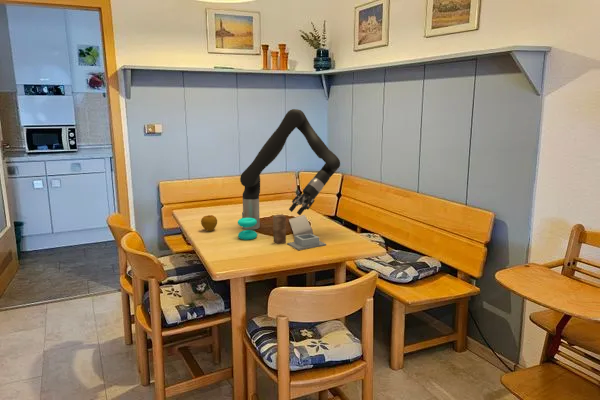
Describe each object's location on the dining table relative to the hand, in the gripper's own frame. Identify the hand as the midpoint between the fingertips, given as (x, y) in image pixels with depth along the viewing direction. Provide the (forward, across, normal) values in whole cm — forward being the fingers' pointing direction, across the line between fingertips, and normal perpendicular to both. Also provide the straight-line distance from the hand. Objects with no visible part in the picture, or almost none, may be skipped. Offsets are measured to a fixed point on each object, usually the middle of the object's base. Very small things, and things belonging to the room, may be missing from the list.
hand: (294, 212), depth 234 cm
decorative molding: (+1, -17, +21) cm, 27 cm away
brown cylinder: (+16, 0, +4) cm, 17 cm away
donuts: (+24, -16, -3) cm, 29 cm away
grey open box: (+10, +11, +11) cm, 18 cm away
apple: (+33, -40, -12) cm, 53 cm away
